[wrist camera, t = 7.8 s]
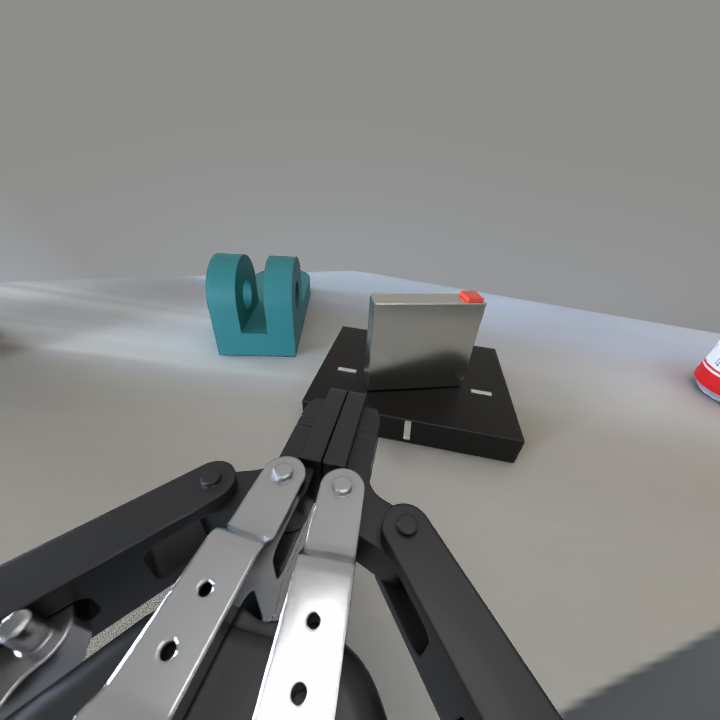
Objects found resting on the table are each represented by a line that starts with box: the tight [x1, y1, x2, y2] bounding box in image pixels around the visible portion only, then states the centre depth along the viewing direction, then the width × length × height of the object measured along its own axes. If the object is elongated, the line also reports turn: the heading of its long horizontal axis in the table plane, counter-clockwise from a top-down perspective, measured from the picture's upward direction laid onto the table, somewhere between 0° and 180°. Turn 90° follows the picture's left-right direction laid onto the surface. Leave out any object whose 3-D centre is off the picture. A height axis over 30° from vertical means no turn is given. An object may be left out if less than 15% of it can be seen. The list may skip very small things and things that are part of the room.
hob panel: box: [302, 327, 525, 463], centre depth 23 cm, size 14×13×2 cm
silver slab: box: [364, 291, 486, 391], centre depth 20 cm, size 7×2×7 cm, turn 98°
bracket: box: [206, 253, 310, 356], centre depth 33 cm, size 18×7×8 cm, turn 3°
